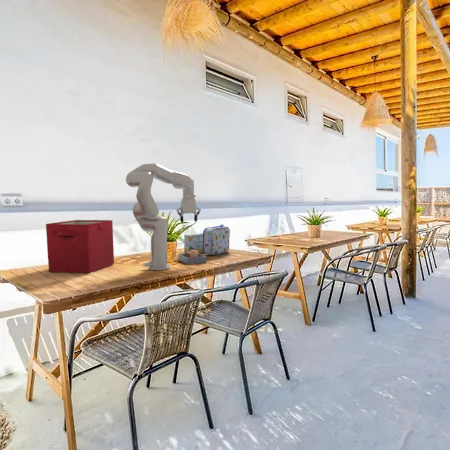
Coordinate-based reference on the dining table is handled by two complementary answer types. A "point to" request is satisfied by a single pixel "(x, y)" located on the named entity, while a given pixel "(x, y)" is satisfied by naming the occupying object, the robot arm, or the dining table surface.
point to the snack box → (193, 242)
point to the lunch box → (216, 240)
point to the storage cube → (80, 245)
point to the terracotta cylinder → (193, 253)
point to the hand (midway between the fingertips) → (188, 221)
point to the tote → (192, 259)
